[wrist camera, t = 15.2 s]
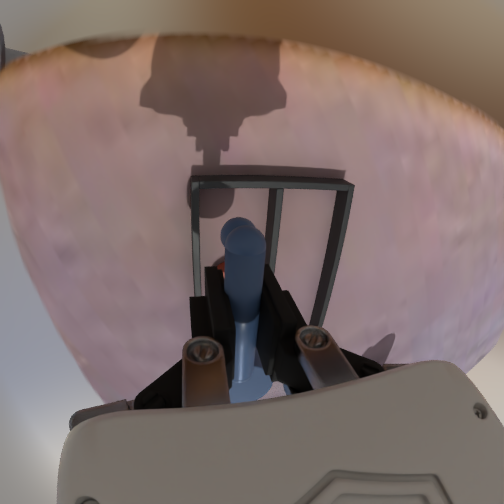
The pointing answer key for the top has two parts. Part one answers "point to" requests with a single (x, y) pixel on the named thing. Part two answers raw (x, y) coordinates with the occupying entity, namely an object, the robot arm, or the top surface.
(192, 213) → the sorting tray
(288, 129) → the top surface
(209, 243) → the top surface
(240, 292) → the blue spoon
